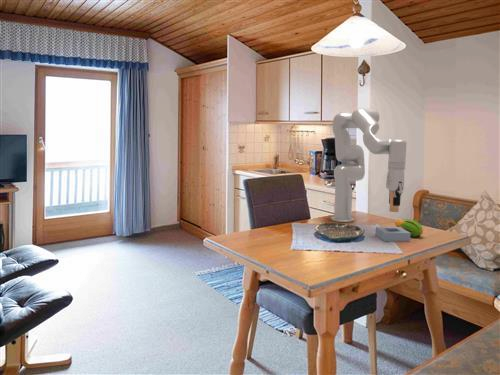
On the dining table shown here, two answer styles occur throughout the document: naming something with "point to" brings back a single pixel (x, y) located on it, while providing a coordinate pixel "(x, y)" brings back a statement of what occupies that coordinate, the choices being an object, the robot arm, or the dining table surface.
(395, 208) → the peg
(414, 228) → the corn
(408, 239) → the socket block
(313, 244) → the dining table surface
